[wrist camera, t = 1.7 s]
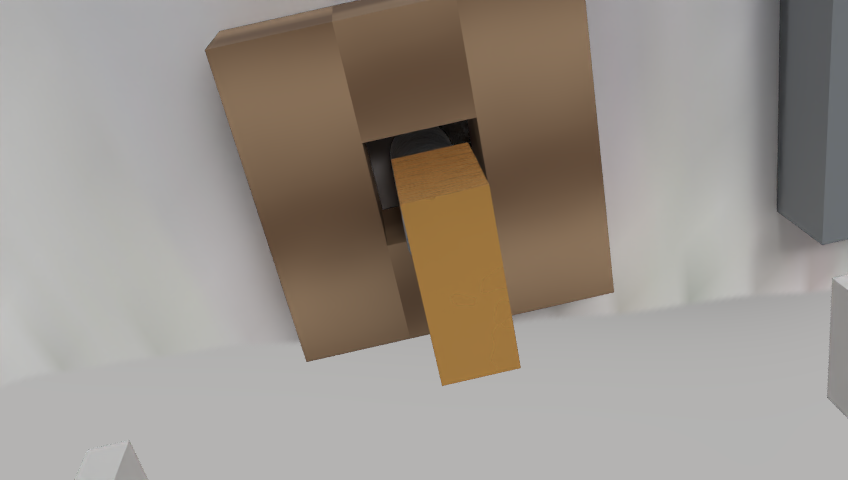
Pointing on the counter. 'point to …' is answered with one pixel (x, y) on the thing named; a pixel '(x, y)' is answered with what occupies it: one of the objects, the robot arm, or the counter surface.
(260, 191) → the block
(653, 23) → the counter surface
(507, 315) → the tall wooden block
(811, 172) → the parts tray
